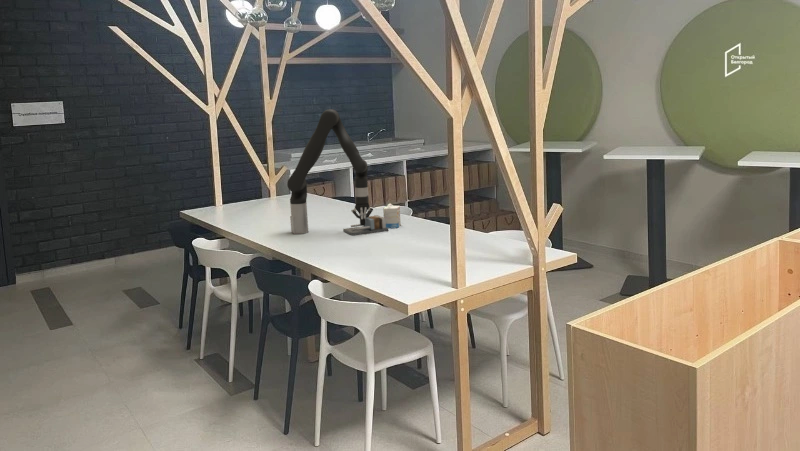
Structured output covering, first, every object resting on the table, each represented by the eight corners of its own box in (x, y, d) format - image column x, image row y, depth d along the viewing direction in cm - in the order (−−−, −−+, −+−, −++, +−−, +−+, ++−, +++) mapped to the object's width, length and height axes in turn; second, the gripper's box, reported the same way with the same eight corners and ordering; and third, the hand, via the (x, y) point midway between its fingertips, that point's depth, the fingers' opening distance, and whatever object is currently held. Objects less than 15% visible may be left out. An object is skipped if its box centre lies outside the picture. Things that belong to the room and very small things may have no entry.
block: (372, 228, 387) (372, 218, 385) (368, 226, 393) (367, 216, 392) (379, 228, 388) (378, 217, 387) (374, 226, 394) (374, 215, 393)
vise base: (352, 235, 378) (351, 222, 377) (343, 231, 391) (342, 218, 389) (388, 230, 387) (387, 218, 386) (378, 226, 399) (378, 214, 398)
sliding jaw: (357, 231, 380) (357, 221, 379) (350, 227, 391) (349, 218, 390) (374, 229, 384) (374, 219, 383) (366, 225, 395) (366, 216, 394)
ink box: (398, 228, 394) (397, 205, 391) (383, 228, 395) (382, 205, 393) (400, 225, 402) (400, 202, 399) (387, 225, 404) (386, 202, 401)
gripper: (353, 197, 378) (354, 227, 381) (375, 195, 383) (376, 225, 387) (348, 195, 385) (349, 225, 388) (370, 193, 390) (371, 223, 393)
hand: (362, 225), depth 387 cm, fingers closed
